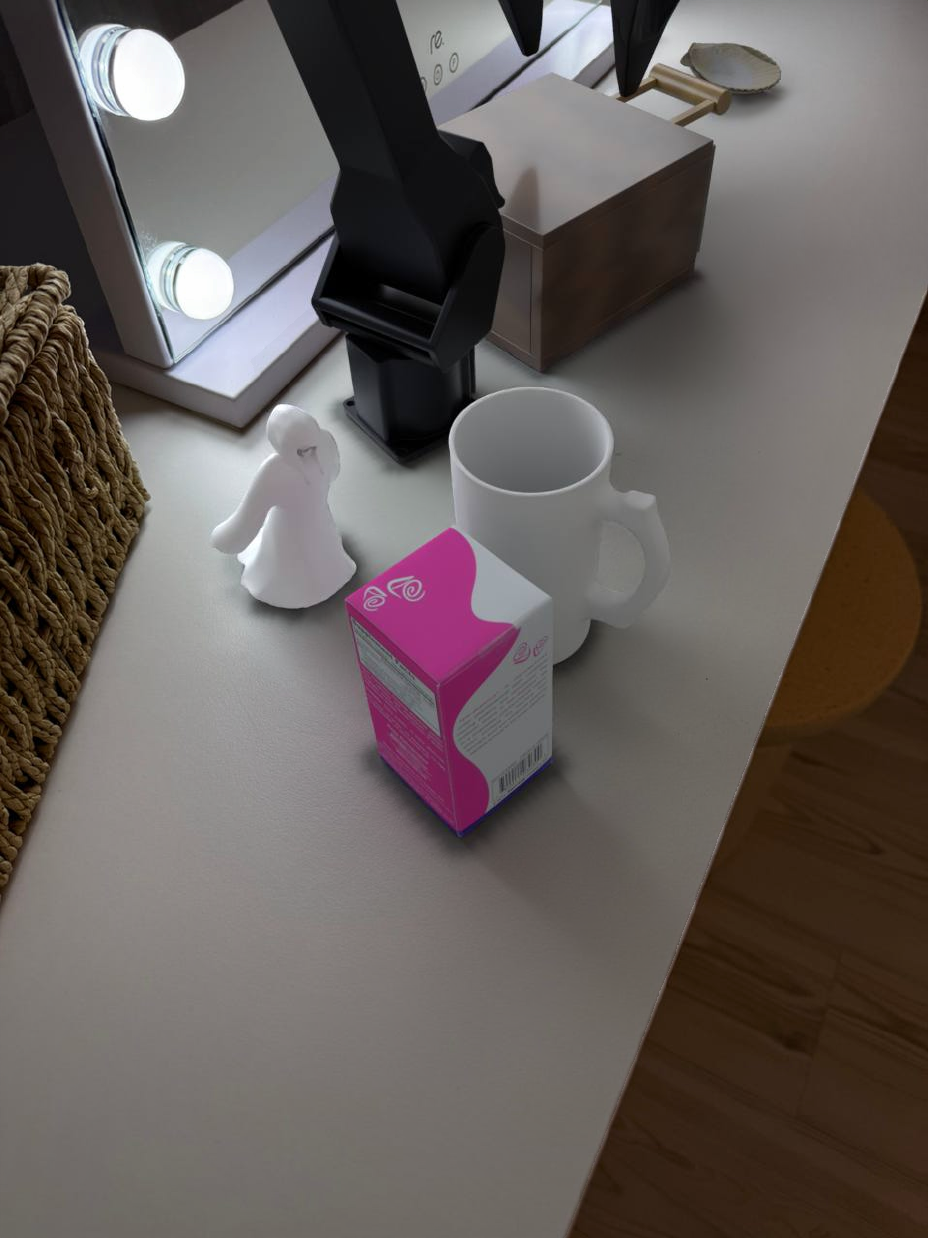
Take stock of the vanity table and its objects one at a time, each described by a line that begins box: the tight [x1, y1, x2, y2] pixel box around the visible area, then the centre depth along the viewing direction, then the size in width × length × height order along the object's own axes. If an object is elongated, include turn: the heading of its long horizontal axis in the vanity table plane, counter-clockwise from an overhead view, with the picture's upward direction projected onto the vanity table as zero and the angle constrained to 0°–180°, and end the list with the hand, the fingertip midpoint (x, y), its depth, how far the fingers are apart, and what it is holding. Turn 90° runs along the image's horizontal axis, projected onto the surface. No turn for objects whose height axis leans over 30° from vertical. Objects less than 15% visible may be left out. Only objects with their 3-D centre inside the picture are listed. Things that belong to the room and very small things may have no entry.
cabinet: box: [436, 72, 714, 373], centre depth 67 cm, size 15×14×9 cm
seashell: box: [679, 42, 782, 95], centre depth 86 cm, size 8×3×8 cm
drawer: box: [609, 62, 733, 254], centre depth 68 cm, size 19×13×8 cm, turn 133°
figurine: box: [209, 403, 358, 610], centre depth 50 cm, size 8×8×12 cm
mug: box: [448, 386, 671, 666], centre depth 46 cm, size 10×7×12 cm, turn 60°
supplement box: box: [344, 524, 554, 838], centre depth 42 cm, size 6×6×12 cm
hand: (577, 73), depth 61 cm, fingers open, 8 cm apart
